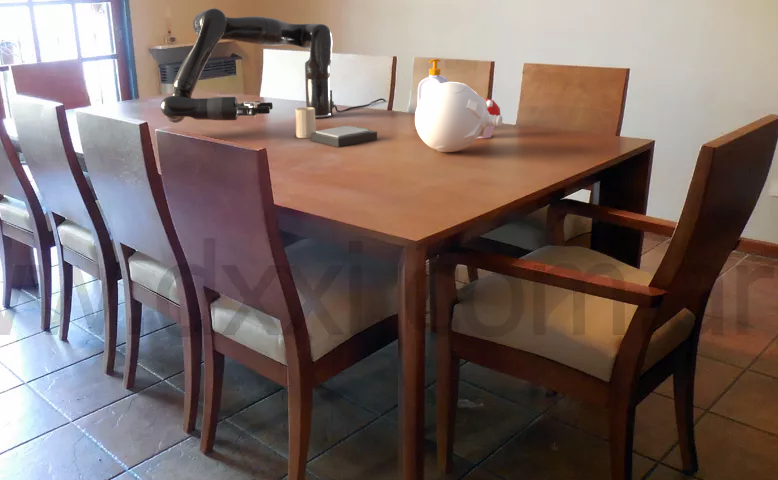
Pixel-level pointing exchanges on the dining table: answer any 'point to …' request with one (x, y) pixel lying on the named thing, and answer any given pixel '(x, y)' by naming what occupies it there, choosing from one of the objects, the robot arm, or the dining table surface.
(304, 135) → the tumbler
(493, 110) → the mushroom
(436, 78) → the soap bottle
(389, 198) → the dining table surface
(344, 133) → the scale
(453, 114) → the white rounded shape
